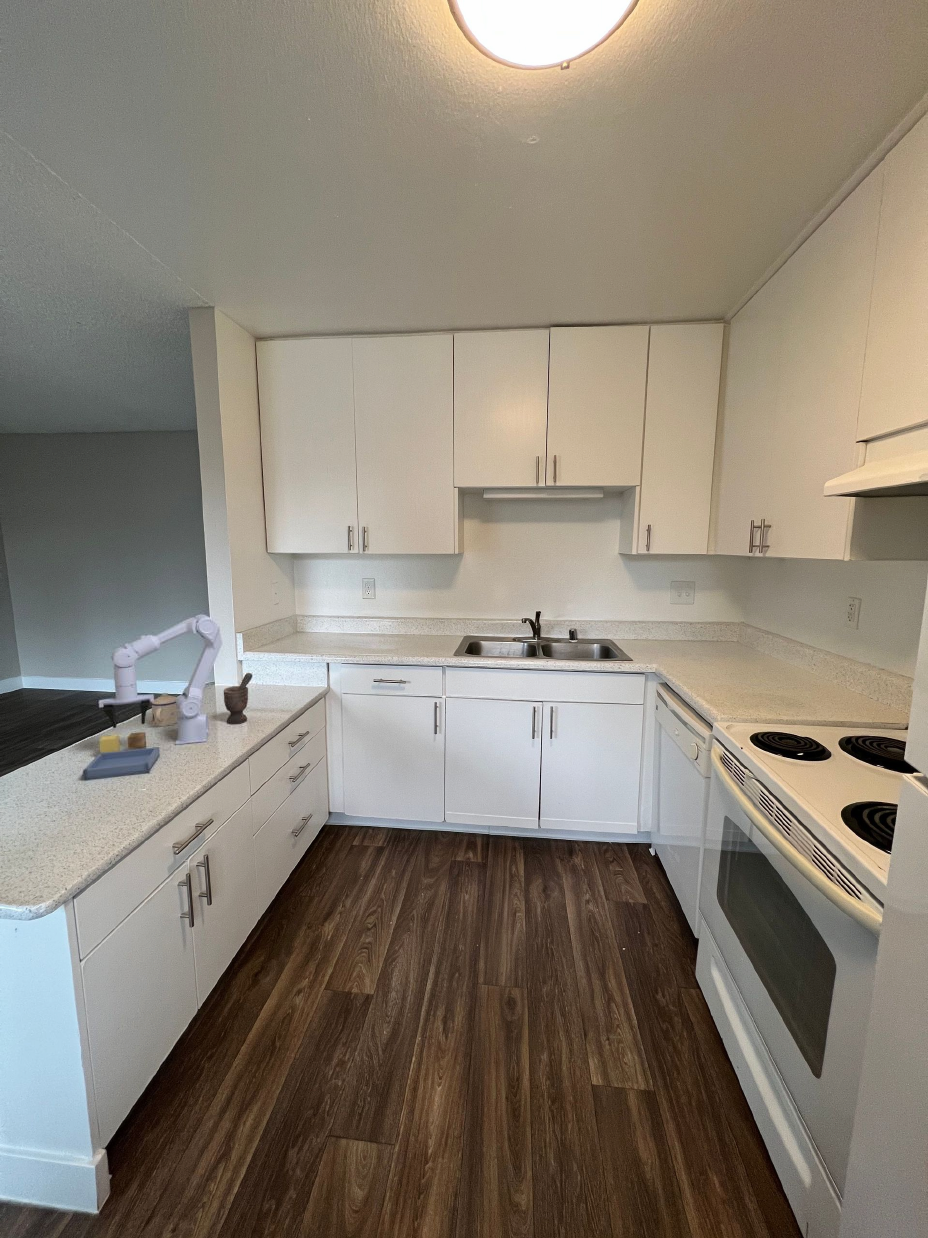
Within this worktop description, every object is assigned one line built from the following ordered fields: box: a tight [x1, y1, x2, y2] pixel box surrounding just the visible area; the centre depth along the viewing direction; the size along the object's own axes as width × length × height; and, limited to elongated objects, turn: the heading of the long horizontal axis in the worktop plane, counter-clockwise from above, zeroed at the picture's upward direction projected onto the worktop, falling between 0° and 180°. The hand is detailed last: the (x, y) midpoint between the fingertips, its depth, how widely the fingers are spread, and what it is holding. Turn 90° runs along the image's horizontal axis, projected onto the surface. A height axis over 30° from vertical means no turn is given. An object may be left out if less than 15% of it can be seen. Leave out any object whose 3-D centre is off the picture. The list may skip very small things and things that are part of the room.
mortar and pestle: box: [223, 672, 253, 725], centre depth 187 cm, size 12×9×20 cm
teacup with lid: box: [150, 692, 180, 727], centre depth 183 cm, size 12×9×12 cm
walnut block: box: [126, 731, 148, 750], centre depth 158 cm, size 4×4×6 cm
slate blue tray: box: [82, 746, 161, 782], centre depth 146 cm, size 16×13×3 cm
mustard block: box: [99, 734, 121, 753], centre depth 155 cm, size 4×4×6 cm
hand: (129, 725), depth 157 cm, fingers open, 7 cm apart
